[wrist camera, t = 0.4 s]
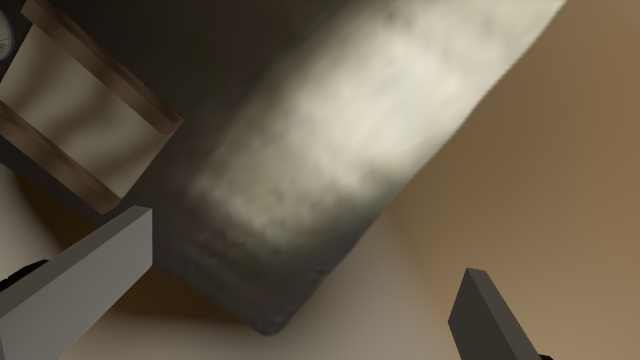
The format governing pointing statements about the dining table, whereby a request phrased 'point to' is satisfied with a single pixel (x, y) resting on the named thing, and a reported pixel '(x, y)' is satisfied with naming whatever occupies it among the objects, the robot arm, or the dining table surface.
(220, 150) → the dining table surface
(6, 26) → the aerosol can
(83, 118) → the cradle
